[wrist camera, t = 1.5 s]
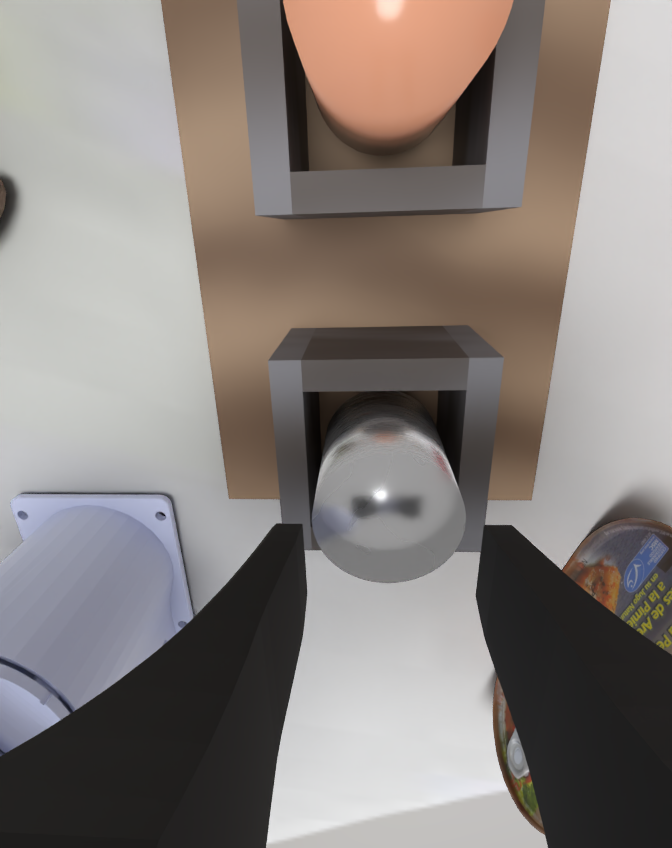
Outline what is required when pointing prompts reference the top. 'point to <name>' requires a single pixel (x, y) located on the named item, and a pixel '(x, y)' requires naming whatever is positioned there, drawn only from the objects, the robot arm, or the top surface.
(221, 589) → the robot arm
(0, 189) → the brown curved piece
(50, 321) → the top surface
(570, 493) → the top surface
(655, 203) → the top surface
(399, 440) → the steel plunger
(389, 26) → the terracotta plunger
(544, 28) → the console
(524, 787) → the tin
